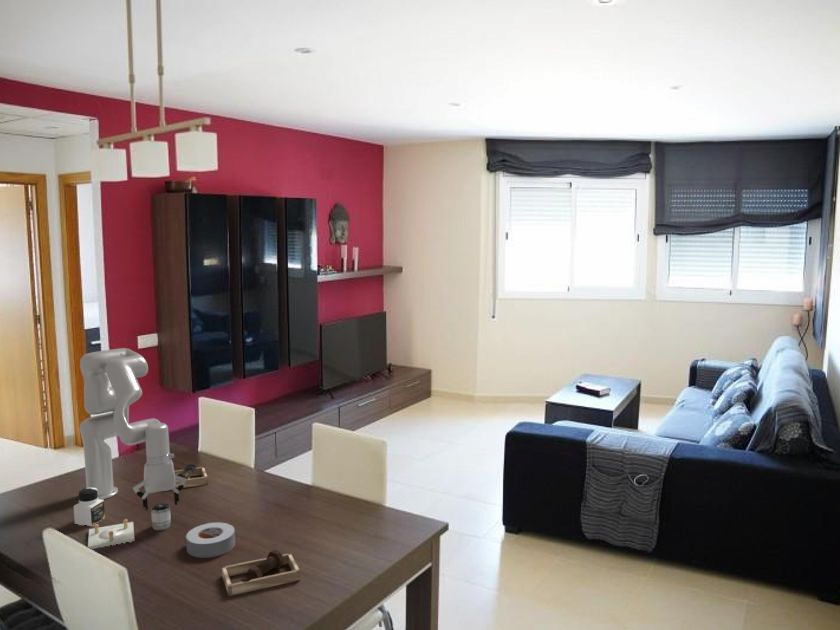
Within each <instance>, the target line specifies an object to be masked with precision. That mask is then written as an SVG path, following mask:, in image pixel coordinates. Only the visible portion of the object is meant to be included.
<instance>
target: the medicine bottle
mask: <svg viewBox="0 0 840 630" xmlns="http://www.w3.org/2000/svg"><path fill="white" fill-rule="evenodd" d="M105 512H106V510H105V499H102V500H101V499H98V490H97V489H96V488H87V487H86V488H83V489H80V490H79V492H78V503H76V504H75V505H73V514H74V515H73V517H74V524H78V525H77V526H84V525H87V526H86V527H94V524H96V523H97V524H98V523H99V521H100V522H102V521H103V520H105V518H106V513H105ZM102 519H103V520H102Z"/></svg>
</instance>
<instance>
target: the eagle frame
mask: <svg viewBox="0 0 840 630" xmlns="http://www.w3.org/2000/svg"><path fill="white" fill-rule="evenodd" d="M174 472H175V474H177V473H179V472H180V473H181V474H182V472H183V469H180V470H179V469H178V470H177V469H176V470H174ZM189 475H190V477H192V478H190V479H186V483H185V485H184V487H183V488H182V489H186V488H191V487H199V486H204V485H205V486H206V485H208V484H209V477H208V474H207V472H206V470H205V466H198V467H196V469H195V471H194V472H192V473H190V474H189ZM200 475H201V476H202V477H200ZM193 476H194V477H193ZM195 476H199V477H195ZM175 482H176V487H178V486H179V485H180V484H181V482H180V481H177V480H175Z"/></svg>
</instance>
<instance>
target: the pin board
mask: <svg viewBox="0 0 840 630" xmlns="http://www.w3.org/2000/svg"><path fill="white" fill-rule="evenodd" d="M122 522H123V523H119V524H117V523H116V524H112V525H105V526H101V527H100V525H99V524H98V523H97V524H95V525H93V528H89V529H88V538H87V539H88V540H87V548H88V547H89V548H91V549H90V550H95V549H100V548H106V547H111V546H110V545H112V546H117V545H116V544H118V545H122V544H121V543H123V544H127V543H126V542H129V543H133V542H132V541H134V542H135V531H134V530H135V529H134V526H135V525H134V521H130V522H129V520H128V519H127V518H125V519H123V521H122ZM105 546H106V547H105ZM99 547H100V548H99Z"/></svg>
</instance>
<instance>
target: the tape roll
mask: <svg viewBox="0 0 840 630" xmlns="http://www.w3.org/2000/svg"><path fill="white" fill-rule="evenodd" d="M185 535H186V536H185V543H186V552H187V554H188V555H190V556H191V557H194V558H199V559H200V558H201V559H202V558H203V559H204V558H205V559H207V558H214V557H218V556H223V555H225V554H227V553H229V552H230V551H232V550H233V548H235V545H236V537H235V535H236V534H235V527H234V526H233V525H232V524H229V523H225V522H208V523H205V524H200V525H198V526H195V527H193V528H192V529H190V530H189V531H187V533H186V534H185Z"/></svg>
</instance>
